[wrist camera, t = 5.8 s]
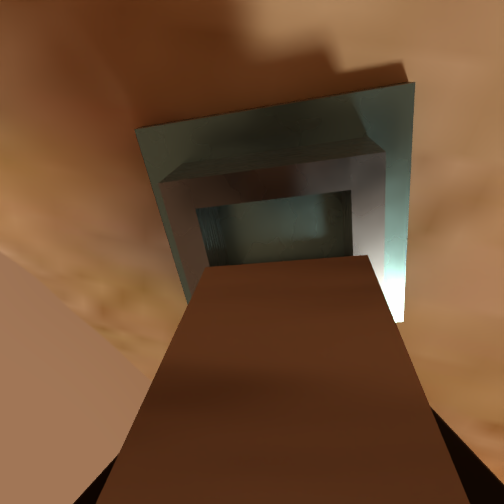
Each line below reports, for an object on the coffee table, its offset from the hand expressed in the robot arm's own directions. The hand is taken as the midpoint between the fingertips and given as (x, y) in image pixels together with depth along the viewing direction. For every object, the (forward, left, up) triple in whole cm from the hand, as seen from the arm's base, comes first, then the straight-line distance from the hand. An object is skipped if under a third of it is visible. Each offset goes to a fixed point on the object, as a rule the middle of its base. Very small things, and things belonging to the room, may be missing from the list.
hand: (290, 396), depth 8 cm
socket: (0, +1, -11) cm, 11 cm away
